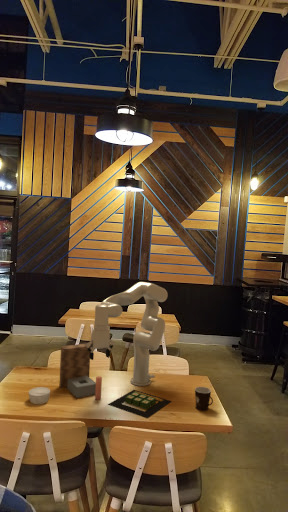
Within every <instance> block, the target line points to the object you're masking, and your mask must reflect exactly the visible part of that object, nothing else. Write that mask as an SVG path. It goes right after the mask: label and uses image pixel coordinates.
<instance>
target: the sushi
mask: <svg viewBox="0 0 288 512" xmlns="http://www.w3.org/2000/svg"><path fill="white" fill-rule="evenodd" d="M171 402H172V400H169V399H166V398H162V397H159V396H156V395H153V394H149V393H146V392H143V391H141V390H136V389H133V390H131V391H129V392H127V393H125V394H124V395H122V396H120V397H118V398H116V399H115V400H113V401H110V402H109V403H107V405H108V406H111V407H113V408H117V409H119V410H121V411H125V412H128V413H130V414H133V415H137V416H139V417H143V418H146V419H149V418H150V417H152V416H154V414H156V413H157V412H159V411H160V410H162V409H163V408H165V407H166V406H168V404H170V403H171ZM124 403H126V404H124ZM127 404H129V405H127ZM130 405H132V406H130ZM133 406H134V407H133ZM135 407H137V408H135ZM138 408H140V409H138ZM141 409H144V410H145V411H144V410H141Z"/></svg>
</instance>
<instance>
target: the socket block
mask: <svg viewBox="0 0 288 512" xmlns="http://www.w3.org/2000/svg"><path fill="white" fill-rule="evenodd" d="M66 388H67V391H69V392H70V393H71V394H72V395H73V396H74V397H75V398H76V399H78V398H85V397H88V396H89V397H90V396H95V391H96V381H95V380H93V379H92V378H90V376H89V377H88V376H81V377H75V378H69V379H68V386H67V387H66Z"/></svg>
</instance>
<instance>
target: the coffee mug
mask: <svg viewBox="0 0 288 512" xmlns="http://www.w3.org/2000/svg"><path fill="white" fill-rule="evenodd" d="M211 393H212V389H211V388H209V387H205V386H196V387H195V388H194V395H195V396H194V397H195V409H196V410H197V411H202V412H206V411H208V410H209V406H211V405H212V404H213V402H214V400H213V397H212V396H211ZM210 400H211V402H210Z"/></svg>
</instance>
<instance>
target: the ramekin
mask: <svg viewBox="0 0 288 512" xmlns="http://www.w3.org/2000/svg"><path fill="white" fill-rule="evenodd" d="M50 394H51V389H50V388H48V387H45V386H37V387H33V388H31V389H30V390H28V397H29V402H30V403H31V404H34V405H43V404H45V403H47V402H49V400H50Z"/></svg>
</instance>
